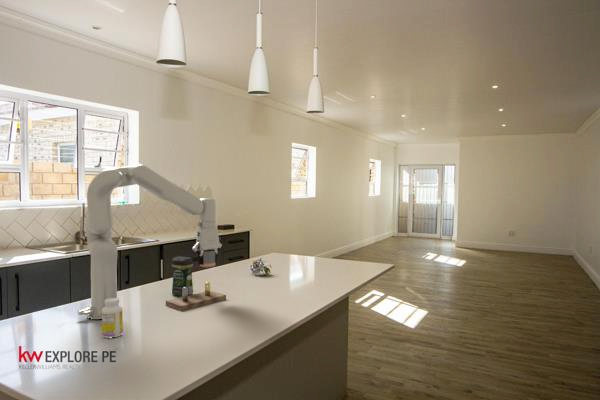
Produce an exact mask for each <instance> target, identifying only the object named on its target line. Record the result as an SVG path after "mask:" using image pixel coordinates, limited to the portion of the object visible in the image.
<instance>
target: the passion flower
mask: <svg viewBox="0 0 600 400" xmlns="http://www.w3.org/2000/svg"><path fill="white" fill-rule="evenodd" d="M266 263H267V261H266V260H264V261H263V258H262V257H260V258H259V259H256V260H253V261H252V263H251V264H250V267H248V268H247V270H250V271H251V275H253V276H254V277H255V276H257V275H260V274H261V272H262V273H265V275H266V276H267V277H268V276H269V274H271V269H272V268H273V267H272V265H271V264H269V265H266ZM268 266H269V267H270V268H269V267H268Z"/></svg>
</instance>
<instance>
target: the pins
mask: <svg viewBox="0 0 600 400" xmlns="http://www.w3.org/2000/svg"><path fill="white" fill-rule="evenodd" d="M210 291H211V282H209V281H206V282H205V284H204V292H205V296H210ZM181 297H182V301H188V288H187V287H183V289H182V296H181Z"/></svg>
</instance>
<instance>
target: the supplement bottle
mask: <svg viewBox="0 0 600 400" xmlns="http://www.w3.org/2000/svg"><path fill="white" fill-rule="evenodd" d="M119 303H120V299H119V297H117V298H109V299H106V300H105V301H104V304H105V307H104V308H103V309H102V320H101V336H102V338H104V337H105V338H104V339H108V338H109V339H111V338H110V337H116V338H118V337H117V336H119V337H120V335H121V336H122V335H123V334H124V333H123V332H124V329H123V327H124V326H123V325H124V321H123V307H122V306H121V305H120V304H119Z"/></svg>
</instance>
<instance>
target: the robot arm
mask: <svg viewBox="0 0 600 400" xmlns="http://www.w3.org/2000/svg"><path fill="white" fill-rule="evenodd" d="M135 185H138V186H139V187H140V188H141V189H144V190H146V191H147V192H149V193H150V194H152V195H154V196H155V197H157V198H158V199H160V200H162V201H166V202H169V203H171V204H174V205H175V206H177V207H179V208H180V211H181V212H183V213H184V214H186V215H191V216H198V222H197V224H196V226H197V227H198V228H197V231H196V241H195V244H194V245H193V246H192V248H191V249H192V252H194V254H196V256H197V263H198V265H199V266H200V265H203V264H204V259H203V256H202V255H203V252H204V250H215V264H216V263H217V261H218V253H219V251H220V250H221V248H222V246H223V244H222V243H221V242H220V238H219V236H220V235H219V230H218V226H217V227H216V222H217V221H216V200H215V199H214V198H212V197H207V198H206V197H204V198H203V197H202V198H198V197H197V196H195V195H194V194H193V193H191V192H190V191H187V190H186V189H184V188H182V187H180V186H178V185H177V184H176V183H174V182H172V181H170V180H168V179H167V178H166V177H164V176H162V175H161V174H160V173H157V172H156V171H154V170H153V169H151V168H150V167H148V166H147V165H144V164H141V163H137V164H132V165H127V166H121V167H109V168H108V167H107V168H104V169H102V170H101V171H99V172H98V174H96V175H95V176H94V178H92V180H91V181H90V183H89V185H88V187H87V191H86V192H87V193H86V203H87V205H86V206H87V216H86V218H85V232H86V242H87V249H88V252H89V254H90V296H91V297H90V303H91V304H90V305H88V307H87V308H84V309H78V311H77V314H78V316H83V315H84V316H86V317H88V318H87V319H89V318H92V319H102V309H103V308H104V307H105V304H104V301H105V300H106V299H109V298H118V284H117V283H118V278H117V277H118V276H117V275H118V274H117V271H118V270H117V269H118V246H117V245H116V243H115V241H114V240H113V237H112V229H113V226H114V220H113V212H112V204H111V203H112V201H111V197H112V192H113V191H114V190H115V189H117V188H121V187H123V188H124V187H129V186H135ZM200 251H201V252H200ZM92 319H91V320H92Z"/></svg>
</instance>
